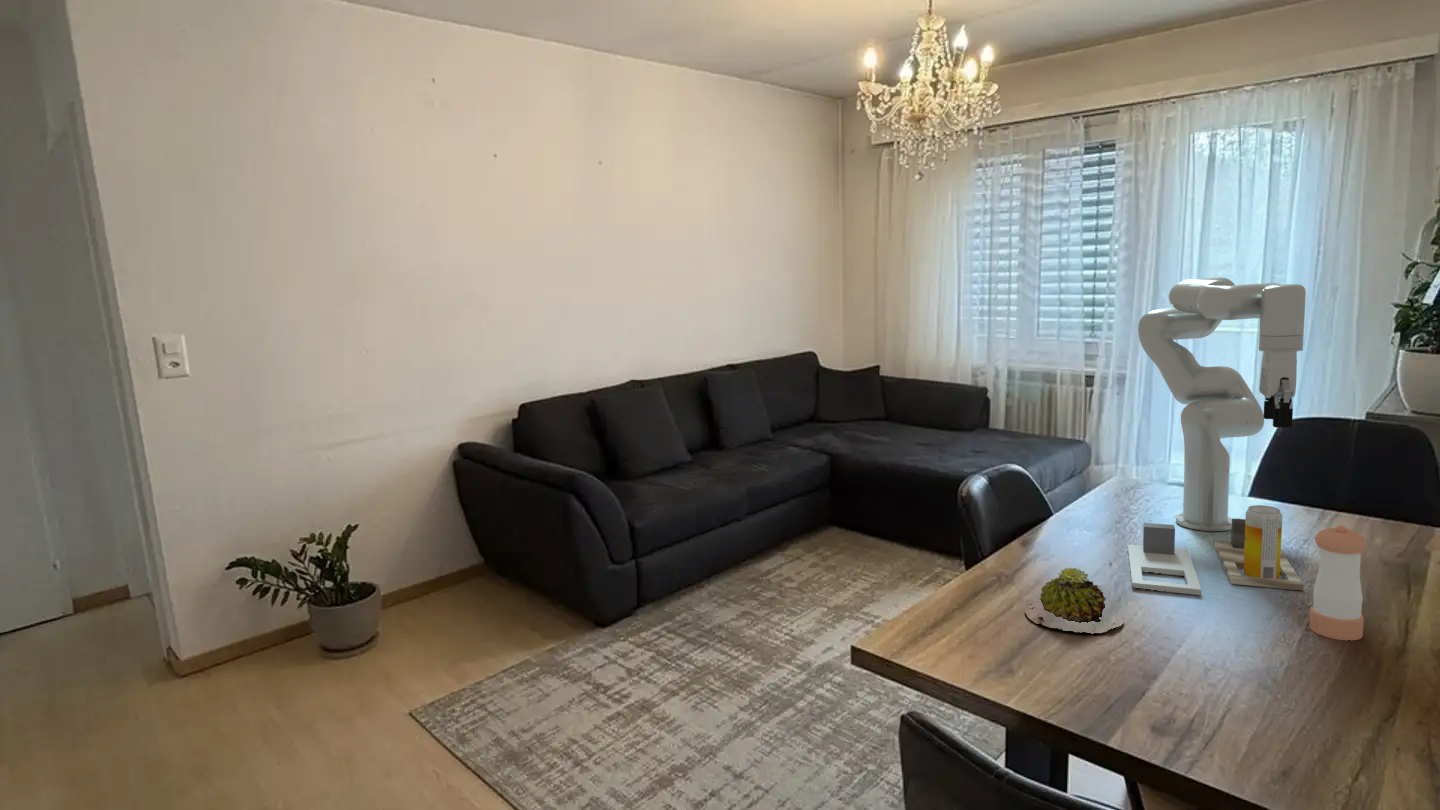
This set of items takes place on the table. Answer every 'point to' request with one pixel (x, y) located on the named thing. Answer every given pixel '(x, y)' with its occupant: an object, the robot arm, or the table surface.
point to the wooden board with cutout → (1234, 559)
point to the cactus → (1073, 597)
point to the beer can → (1262, 542)
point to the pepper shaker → (1338, 585)
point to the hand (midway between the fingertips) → (1277, 422)
